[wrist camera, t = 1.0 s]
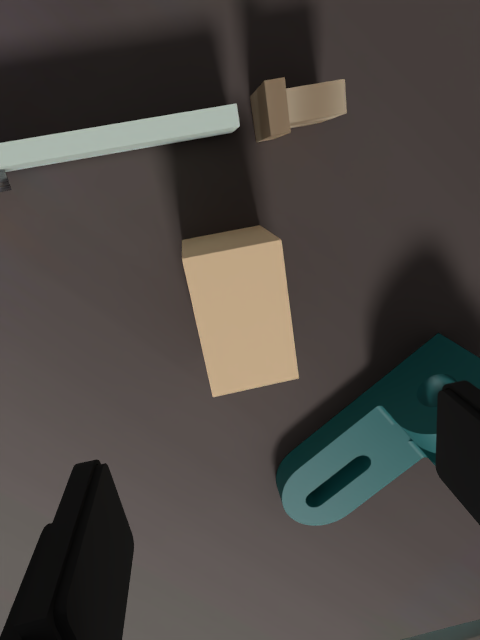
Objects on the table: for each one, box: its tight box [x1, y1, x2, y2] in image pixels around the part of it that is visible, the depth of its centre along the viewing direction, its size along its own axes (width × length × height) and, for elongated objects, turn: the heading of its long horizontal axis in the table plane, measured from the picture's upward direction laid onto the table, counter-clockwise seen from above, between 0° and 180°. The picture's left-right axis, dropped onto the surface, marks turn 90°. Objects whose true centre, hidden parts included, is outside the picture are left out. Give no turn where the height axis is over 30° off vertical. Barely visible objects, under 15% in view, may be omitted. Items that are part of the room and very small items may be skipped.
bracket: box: [276, 333, 480, 526], centre depth 29 cm, size 18×7×8 cm, turn 131°
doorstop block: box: [182, 225, 299, 397], centre depth 24 cm, size 5×8×6 cm, turn 9°
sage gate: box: [0, 103, 240, 192], centre depth 21 cm, size 15×2×4 cm, turn 99°
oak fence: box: [250, 77, 347, 142], centre depth 20 cm, size 25×2×4 cm, turn 99°
